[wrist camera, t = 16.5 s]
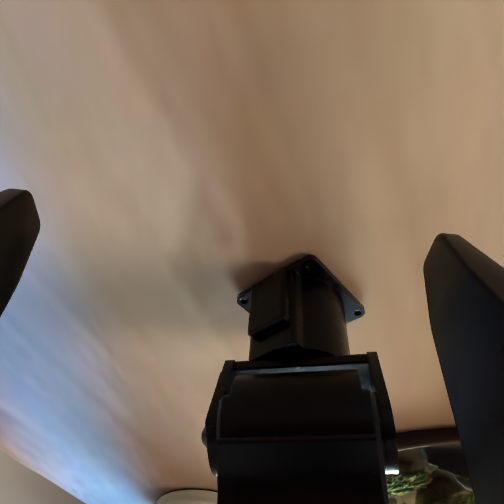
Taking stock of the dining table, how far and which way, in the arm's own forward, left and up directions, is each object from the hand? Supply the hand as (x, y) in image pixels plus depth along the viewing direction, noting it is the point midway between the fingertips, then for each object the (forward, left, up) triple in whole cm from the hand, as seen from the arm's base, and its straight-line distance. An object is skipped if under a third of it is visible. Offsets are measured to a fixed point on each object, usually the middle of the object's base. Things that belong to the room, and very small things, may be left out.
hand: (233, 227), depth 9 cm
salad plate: (-42, +11, -13) cm, 45 cm away
